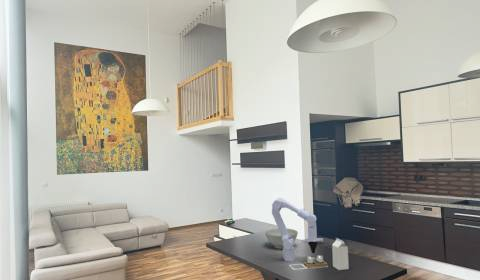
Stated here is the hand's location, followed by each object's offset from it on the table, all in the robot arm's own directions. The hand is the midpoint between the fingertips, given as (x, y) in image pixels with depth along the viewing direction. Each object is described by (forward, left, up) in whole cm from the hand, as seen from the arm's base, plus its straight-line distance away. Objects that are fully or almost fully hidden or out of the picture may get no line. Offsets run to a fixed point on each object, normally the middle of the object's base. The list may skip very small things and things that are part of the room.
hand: (313, 252), depth 211 cm
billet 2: (+7, +1, -6) cm, 10 cm away
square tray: (+6, -14, -7) cm, 17 cm away
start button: (0, 0, -6) cm, 6 cm away
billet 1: (+7, -6, -6) cm, 11 cm away
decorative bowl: (-46, -7, -8) cm, 47 cm away
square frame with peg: (0, 0, -7) cm, 7 cm away
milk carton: (+15, +12, -8) cm, 21 cm away
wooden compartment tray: (+7, -2, -7) cm, 10 cm away
